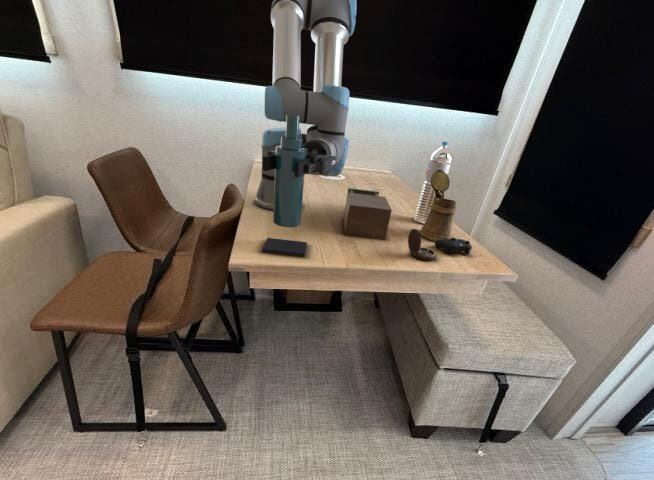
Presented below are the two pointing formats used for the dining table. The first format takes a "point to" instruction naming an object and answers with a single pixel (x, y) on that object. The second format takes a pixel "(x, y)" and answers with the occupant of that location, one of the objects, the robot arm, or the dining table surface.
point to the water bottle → (436, 162)
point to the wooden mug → (439, 210)
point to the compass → (419, 246)
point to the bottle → (288, 177)
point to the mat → (285, 247)
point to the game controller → (454, 245)
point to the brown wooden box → (366, 216)
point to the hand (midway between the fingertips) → (280, 166)
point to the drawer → (362, 192)
